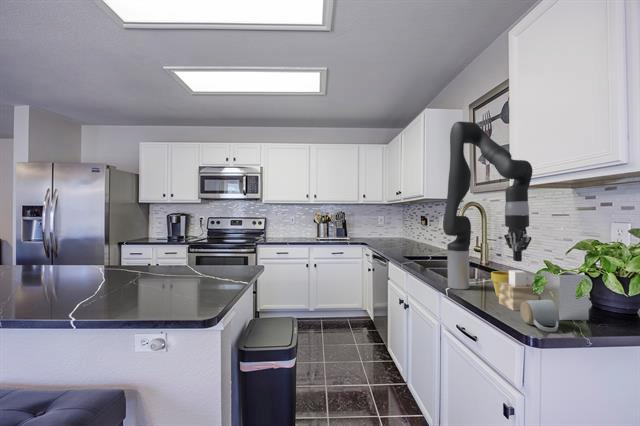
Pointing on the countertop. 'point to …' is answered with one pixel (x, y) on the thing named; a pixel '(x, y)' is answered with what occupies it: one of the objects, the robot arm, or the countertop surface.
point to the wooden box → (515, 295)
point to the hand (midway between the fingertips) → (517, 261)
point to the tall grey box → (566, 295)
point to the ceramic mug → (540, 314)
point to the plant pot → (499, 279)
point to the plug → (517, 278)
